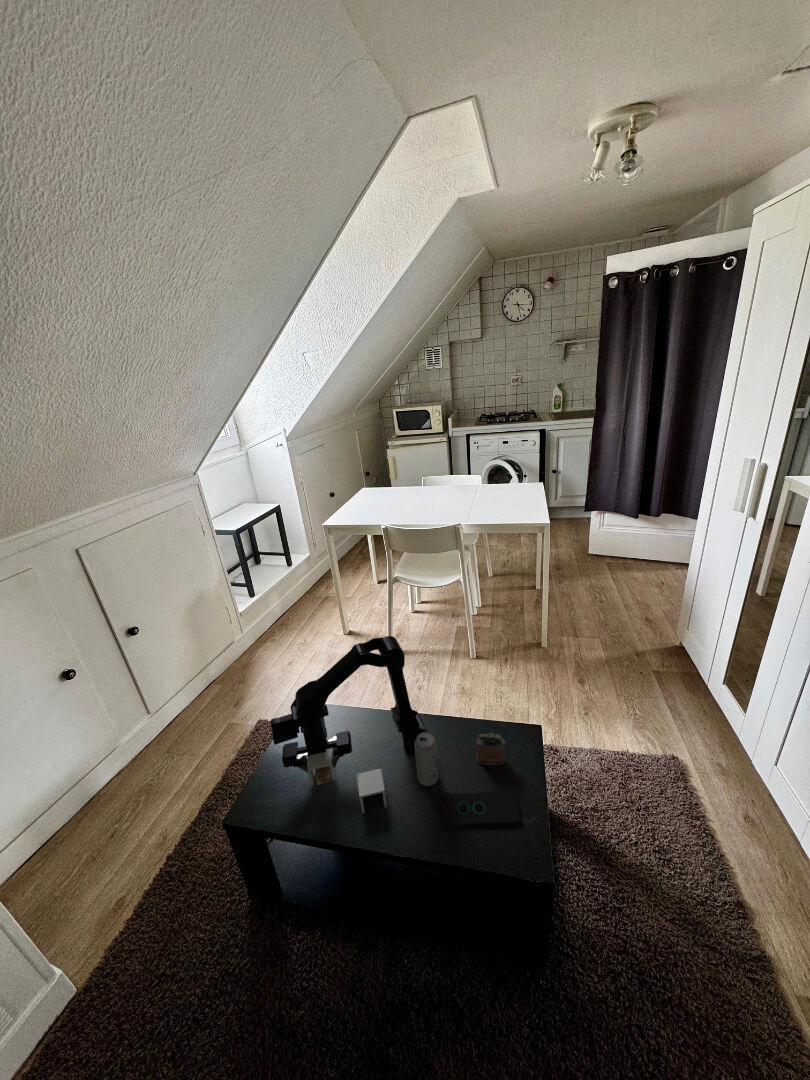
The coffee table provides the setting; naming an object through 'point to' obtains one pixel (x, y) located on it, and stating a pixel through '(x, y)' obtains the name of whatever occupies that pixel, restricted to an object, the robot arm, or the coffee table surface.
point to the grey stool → (370, 785)
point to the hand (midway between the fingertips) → (322, 769)
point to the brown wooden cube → (323, 775)
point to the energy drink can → (426, 759)
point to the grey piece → (320, 763)
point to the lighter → (490, 749)
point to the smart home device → (479, 809)
